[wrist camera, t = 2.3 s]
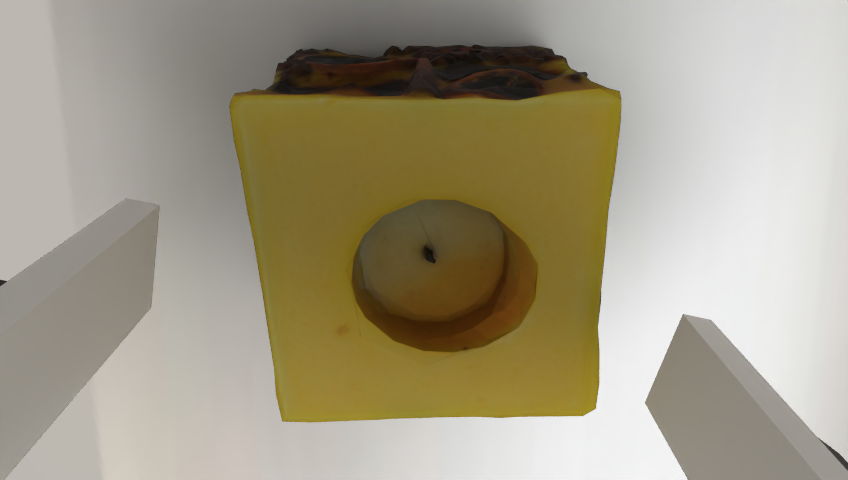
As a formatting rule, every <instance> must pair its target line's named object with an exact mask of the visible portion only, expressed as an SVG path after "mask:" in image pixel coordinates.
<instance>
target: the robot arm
mask: <svg viewBox="0 0 848 480" xmlns="http://www.w3.org/2000/svg"><path fill="white" fill-rule="evenodd" d="M159 206H160V205H156V204H152V203H147V202H142V201H137V200H132V199H128V198H126V199H125V200H123V201H122V202H120V203H119V204H117V205H116V206H115V207H113V208H112V209H110V210H109V211H107V212H106V213H105V214H103V215H102V216H100V217H99V218H97V219H96V220H94V221H93V222H92V223H90V224H89V225H87V226H86V227H84V228H83V229H82V230H80V231H79V232H77V233H76V234H74V235H73V236H72V237H70V238H69V239H67V240H66V241H64V242H63V243H62V244H60V245H59V246H57V247H56V248H54V249H53V250H52V251H50V252H49V253H47V254H46V255H44V256H43V257H41V258H40V259H39V260H37V261H36V262H34V263H33V264H32V265H30V266H29V267H27V268H26V269H24V270H23V271H22V272H20V273H19V274H17V275H16V276H14V277H13V278H11V279H10V280H9V281H4V280H0V480H5V478H6V477H7V476H8V475H9V474H10V473H11V471H12V470H13V469H14V468H15V467H16V466H17V464H18V463H19V462H20V461H21V460H22V458H23V457H24V456H25V455H26V454H27V453H28V451H29V450H30V449H31V448H32V447H33V445H34V444H35V443H36V442H37V441H38V440H39V438H40V437H41V436H42V435H43V434H44V432H45V431H46V430H47V429H48V428H49V427H50V425H51V424H52V423H53V422H54V421H55V420H56V419H57V417H58V416H59V415H60V414H61V413H62V411H63V410H64V409H65V408H66V407H67V406H68V404H69V403H70V402H71V401H72V400H73V399H74V397H75V396H76V395H77V394H78V393H79V392H80V390H81V389H82V388H83V387H84V386H85V385H86V383H87V382H88V381H89V380H90V379H91V377H92V376H93V375H94V374H95V373H96V372H97V370H98V369H99V368H100V367H101V366H102V365H103V363H104V362H105V361H106V360H107V359H108V357H109V356H110V355H111V354H112V353H113V352H114V350H115V349H116V348H117V347H118V346H119V345H120V343H121V342H122V341H123V340H124V339H125V338H126V336H127V335H128V334H129V333H130V332H131V330H132V329H133V328H134V327H135V326H136V325H137V323H138V322H139V321H140V320H141V319H142V318H143V316H144V315H145V314H146V313H147V312H148V311H149V309H150V308H151V304H152V291H153V279H154V267H155V255H156V243H157V231H158V218H159ZM645 404H646V405H647V407H648V409H649V411H650V413H651V414H652V416H653V418H654V420H655V422H656V423H657V425H658V427H659V429H660V430H661V432H662V434H663V436H664V438H665V439H666V441H667V443H668V445H669V447H670V448H671V450H672V452H673V454H674V455H675V457H676V459H677V461H678V463H679V464H680V466H681V468H682V470H683V472H684V473H685V475H686V477H687V479H688V480H848V463H847V462H846V461H845V459H844V458H843V457H842V456H841V455H840V454H839V453H838V452H836V451H835V450H834V449H832V448H831V447H830V446H828V445H827V444H826V443H824V442H823V441H822V440H820V439H819V438H818V437H817V436H816V435H815V434H814V433H813V432H812V431H811V430H810V429H809V428H808V426H807V425H806V424H805V423H804V422H803V421H802V420H801V419H800V418H799V416H798V415H797V414H796V413H795V412H794V411H793V410H792V409H791V408H790V407H789V405H788V404H787V403H786V402H785V401H784V400H783V399H782V398H781V397H780V396H779V394H778V393H777V392H776V391H775V390H774V389H773V388H772V387H771V386H770V385H769V383H768V382H767V381H766V380H765V379H764V378H763V377H762V376H761V375H760V373H759V372H758V371H757V370H756V369H755V368H754V367H753V366H752V365H751V364H750V362H749V361H748V360H747V359H746V358H745V357H744V356H743V355H742V354H741V353H740V351H739V350H738V349H737V348H736V347H735V346H734V345H733V344H732V343H731V341H730V340H729V339H728V338H727V337H726V336H725V335H724V334H723V333H722V332H721V330H720V329H719V328H718V327H717V326H716V325H715V324H714V323H713V322H712V321H711V320H708V319H704V318H699V317H694V316H689V315H684V314H683V315H682V318H681V320H680V322H679V325H678V327H677V329H676V332H675V334H674V336H673V339H672V341H671V343H670V346H669V348H668V350H667V353H666V355H665V357H664V360H663V362H662V364H661V367H660V369H659V371H658V374H657V376H656V378H655V381H654V383H653V385H652V388H651V390H650V392H649V395H648V397H647V399H646V402H645Z"/></svg>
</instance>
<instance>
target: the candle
mask: <svg viewBox="0 0 848 480" xmlns="http://www.w3.org/2000/svg"><path fill="white" fill-rule="evenodd" d="M587 76H588V75H587V73H586V72H577V71H575V70H573V69H571V68H570V67H569V65H568V64H567V60H566V58H564V57H563V56H559V55H555V54H554V52H553V50H552V49H548V48H542V47H536V46H524V47H483V46H479V45H474V46H473V47H468V46H462V45H457V46H445V47H438V48H436V47H430V46H417V47H416V46H408V47H406V48H405V49H404V50H403V51H402V50H401V49H399V48H398V47H395V46H391V47H390V48H389V49H387V50H386V52H385V54H384V56H382V57H378V58H374V59H373V58H368V57H362V56H356V55H345V54H342V53H340V52H337V51H333V50H329V49H325V50H322V51H319V50H315V49H310V50H307V51H303V50H301V49H300V50H299V51H296V52H295V53H294V54H293V55H291V56H290V57H289V58H287V61H286V62H284V63H278V66H277V69H276V75H275V80H274V83H273V85H272V86H270V87H269V88H268V89H266V90H257V89H253V90H252V91H249V92H242V93H235V94H234V96H233V98H232V100H231V103H230V106H229V107H230V114H231V122H232V129H233V136H234V142H235V147H236V151H237V156H238V160H239V165H240V169H241V175H242V181H243V187H244V193H245V199H246V205H247V211H248V216H249V221H250V225H251V230H252V235H253V239H254V245H255V251H256V257H257V263H258V269H259V275H260V281H261V287H262V293H263V300H264V306H265V313H266V319H267V326H268V333H269V339H270V345H271V352H272V358H273V364H274V373H275V386H276V396H277V400H278V405H279V409H280V413H281V417H282V421H286V422H329V421H352V420H380V419H396V418H430V417H495V418H504V417H528V416H584V415H585V414H587V413H589V412H591V411H592V410H594V409H596V402H597V395H598V388H599V339H598V321H599V312H600V304H601V284H602V275H603V266H604V256H605V246H606V233H607V220H608V209H609V202H610V196H611V190H612V184H613V177H614V171H615V163H616V155H617V146H618V138H619V130H620V122H621V96H620V91H617V90H613V89H609V88H606V87H604V86H601V85H599V84H597V83H594V82H592V81H590V80H589V79H588V78H587Z"/></svg>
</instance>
